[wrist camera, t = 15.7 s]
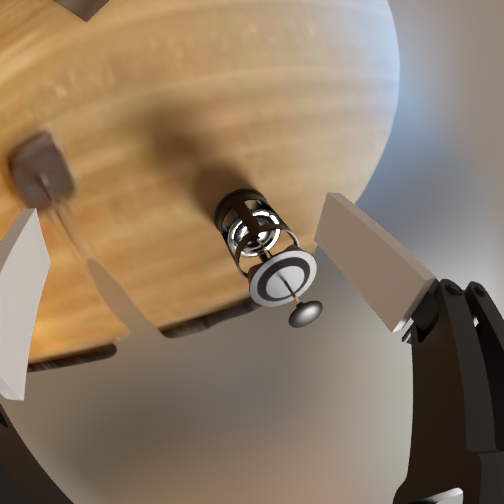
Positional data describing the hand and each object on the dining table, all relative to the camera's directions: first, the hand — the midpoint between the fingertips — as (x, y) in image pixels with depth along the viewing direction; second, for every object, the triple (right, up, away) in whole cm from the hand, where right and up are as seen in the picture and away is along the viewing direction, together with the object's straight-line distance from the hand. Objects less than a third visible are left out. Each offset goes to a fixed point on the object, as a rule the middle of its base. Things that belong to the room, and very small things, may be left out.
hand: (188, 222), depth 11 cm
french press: (+1, +5, +35) cm, 36 cm away
